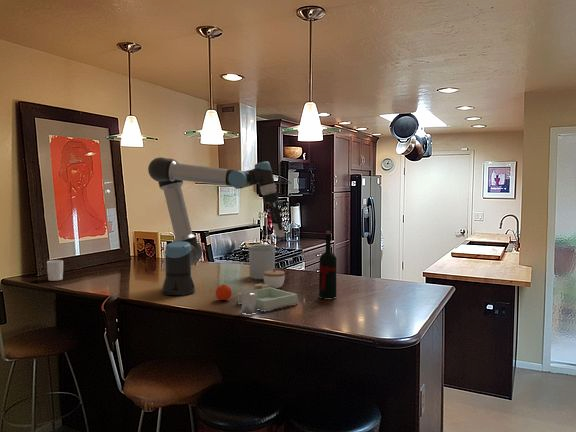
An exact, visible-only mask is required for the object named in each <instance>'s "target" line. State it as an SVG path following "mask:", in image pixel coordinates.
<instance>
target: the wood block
mask: <svg viewBox="0 0 576 432" xmlns="http://www.w3.org/2000/svg"><path fill="white" fill-rule="evenodd" d="M264 288H269V285H268V284H265V283H258V284H253V290H258V289H264Z"/></svg>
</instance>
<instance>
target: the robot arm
mask: <svg viewBox="0 0 576 432" xmlns="http://www.w3.org/2000/svg"><path fill="white" fill-rule="evenodd" d="M147 171H148V175H149V177H151V179H153V180H154V181H156V182H158V183H157V184H158V187H159V189H161V190H162V191H163V193H164V196H165V202H166V206H167V209H168V214H169V217H170V221H171V226H172V230H173V233H174V234H173V235H174V239H173V241H172V242H170V243H168V244H166V245H165V249H164V258H165V260H164V262H165V263H164V265H165V271H164V272H165V277H164V281H163V284H162V287H161V294H162V295H163V294H164V296H167V295H183V296H187V295H186V294H189V295H192V294H191V293H193V294H195V293H196V287H195V284H194V281H193V277H192V266H193V265H196V264H197V263H198V262H199V261H200V260H201V258H202V256H203V247H202V245H201V244H200V243H199V242H198V239H197V235H195V234H194V233H193V231H192V227H191V223H190V218H189V214H188V210H187V206H186V202H185V198H184V194H183V190H182V186H183V184H184V182H192V183H193V182H194V183H201V184H211V185H219V186H227V187H234V188H235V190H239V189H245V188H247V187H252V186H254V185H259V190H260V193H261V195H262V201H263V204H267V207H268V211H269V218H270V222H271V224H272V228H273V231H274V235H275V236H274V237H278V238H283V237H286V234H285V230H284V226H283V225H284V224H283V222H282V221H283V219H282V217H281V214H280V211H279V207H278V203H277V202H276V201H278V200H280V197H279V195H278V192H277V186H278V185H277V184H276V182H275V178H274V174H273V170H272V167H271V164H270V162H269V161H261V162H258V163H255V164H254V168H253V169H249V170H241V169H229V168H219V167H211V166H203V165H202V166H201V165H194V164H183V163H180V162H179V161H177V160H176V159H173V158H166V157H161V156H159V157H155V158H154V159H152V160H151V161H150V162H149V164H148V168H147Z"/></svg>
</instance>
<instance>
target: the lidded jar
mask: <svg viewBox="0 0 576 432" xmlns="http://www.w3.org/2000/svg"><path fill="white" fill-rule="evenodd" d="M263 275H264V279H263V282H264V284H268V285H269V287H271V288H279V287H280V288H281V287H282V286H283V285H284V282H285V279H286V277H285V276H286V272H285V271H283V270H277V269H276V268H275V269H273V270H270V271H265V272H263ZM280 288H279V289H280Z"/></svg>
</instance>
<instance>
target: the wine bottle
mask: <svg viewBox="0 0 576 432" xmlns="http://www.w3.org/2000/svg"><path fill="white" fill-rule="evenodd" d="M331 235H332V234H331V230H325V252H323V253H322V254H321V255H320V257H319V265H318V266H319V269H318V270H319V272H318V273H319V276H318V277H319V278H318V281H319V282H318V297H319V296H320V297H322V298H334V297H336V298H337V257H336V255H335V253H333V252H331V250H332V249H331V248H332V247H331V245H332V244H331V241H332V240H331V237H332V236H331Z"/></svg>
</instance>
